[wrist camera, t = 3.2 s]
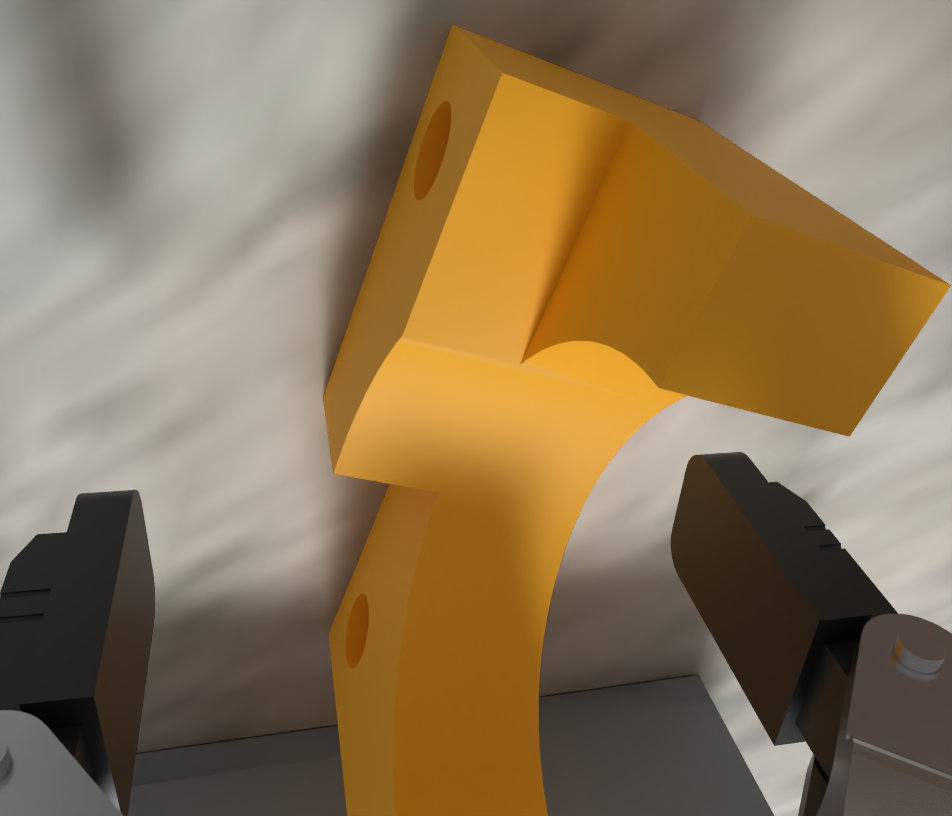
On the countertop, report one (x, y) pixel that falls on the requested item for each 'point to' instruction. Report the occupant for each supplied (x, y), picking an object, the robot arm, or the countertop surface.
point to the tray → (561, 753)
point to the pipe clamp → (556, 385)
